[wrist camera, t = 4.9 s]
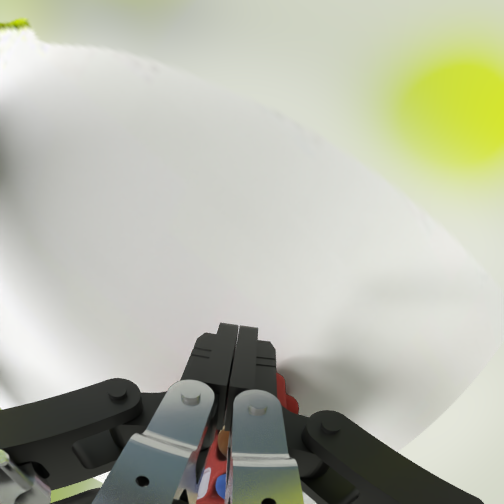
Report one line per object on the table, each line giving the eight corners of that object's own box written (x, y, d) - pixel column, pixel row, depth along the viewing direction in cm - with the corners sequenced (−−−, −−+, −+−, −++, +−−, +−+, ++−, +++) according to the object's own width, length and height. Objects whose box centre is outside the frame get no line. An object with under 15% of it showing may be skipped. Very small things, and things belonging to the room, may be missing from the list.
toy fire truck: (313, 375, 19) (336, 492, 9) (226, 442, 22) (214, 529, 12) (239, 332, 18) (219, 464, 8) (164, 412, 21) (131, 501, 11)
